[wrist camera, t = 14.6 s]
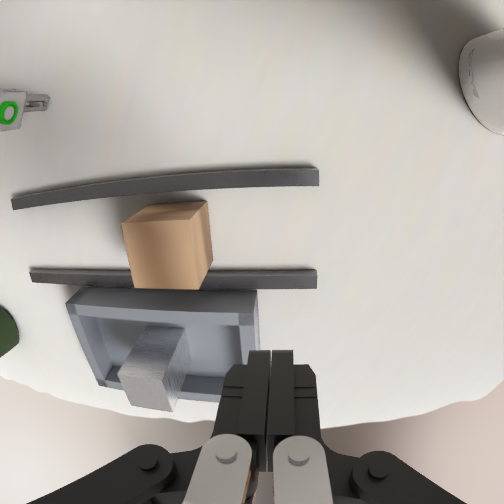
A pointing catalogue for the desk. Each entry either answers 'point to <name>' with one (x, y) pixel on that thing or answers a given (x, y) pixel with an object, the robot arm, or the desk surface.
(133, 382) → the stop block
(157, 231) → the slider
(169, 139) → the desk surface
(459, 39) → the desk surface
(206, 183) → the slide rails
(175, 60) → the desk surface
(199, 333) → the tray
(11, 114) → the mechanical component
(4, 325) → the character mug
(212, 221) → the desk surface
